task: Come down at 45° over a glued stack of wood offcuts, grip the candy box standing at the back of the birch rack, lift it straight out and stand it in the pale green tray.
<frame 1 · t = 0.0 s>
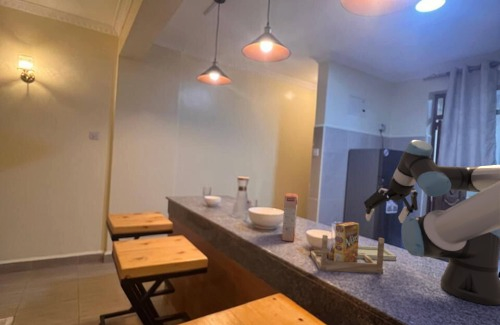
hand: (383, 219, 113), 15 cm above the counter, tool tilted 35°, fingers open, 13 cm apart
tray: (370, 254, 116), on the counter
rack: (345, 264, 103), on the counter
candy box: (345, 265, 103), resting in rack
cracker box: (288, 238, 134), on the counter
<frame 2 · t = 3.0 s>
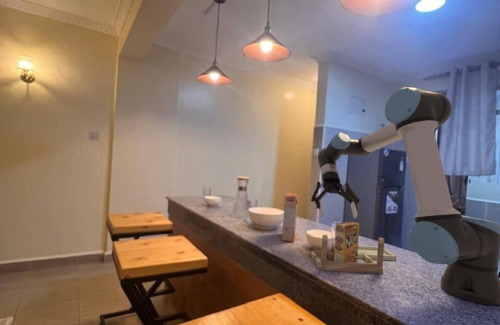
hand: (338, 215, 112), 16 cm above the counter, tool tilted 45°, fingers open, 13 cm apart
nothing on the counter moved.
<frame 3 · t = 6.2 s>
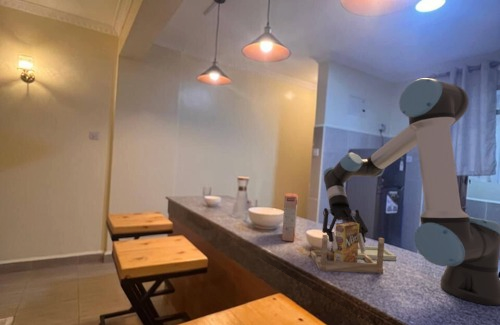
hand: (349, 250, 99), 6 cm above the counter, tool tilted 45°, fingers closed on candy box, 9 cm apart
candy box: (345, 265, 103), resting in rack, touching gripper
everything else where it was.
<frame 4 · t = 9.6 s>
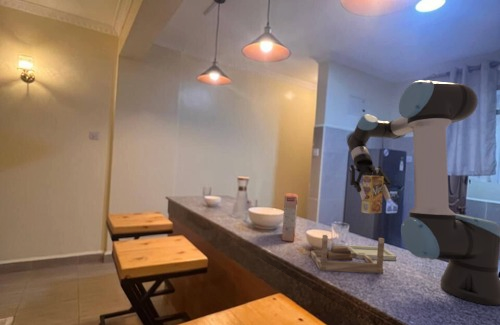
hand: (376, 198, 112), 24 cm above the counter, tool tilted 45°, fingers closed on candy box, 9 cm apart
candy box: (371, 213, 115), point 17 cm above the counter, touching gripper
everything else where it was.
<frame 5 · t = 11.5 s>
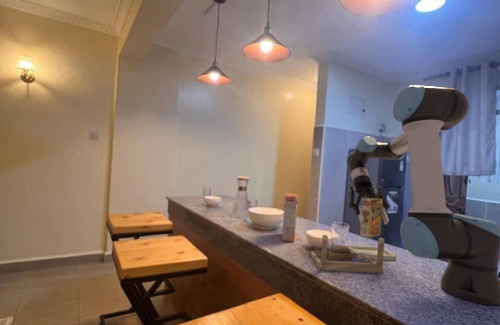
hand: (374, 222, 113), 14 cm above the counter, tool tilted 45°, fingers closed on candy box, 9 cm apart
candy box: (370, 235, 117), point 8 cm above the counter, touching gripper
everything else where it was.
when the fingers open (8 cm above the counter, at t = 13.2 s): candy box drops 1 cm, resting on tray.
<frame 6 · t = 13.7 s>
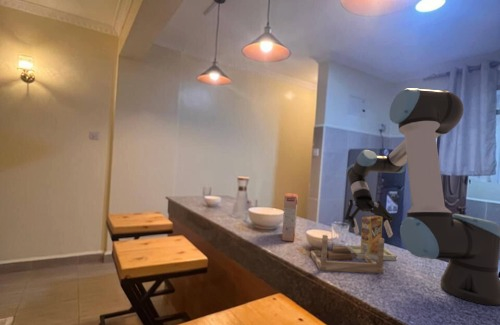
hand: (374, 234, 113), 9 cm above the counter, tool tilted 45°, fingers open, 13 cm apart
candy box: (370, 253, 116), resting on tray
everything else where it was.
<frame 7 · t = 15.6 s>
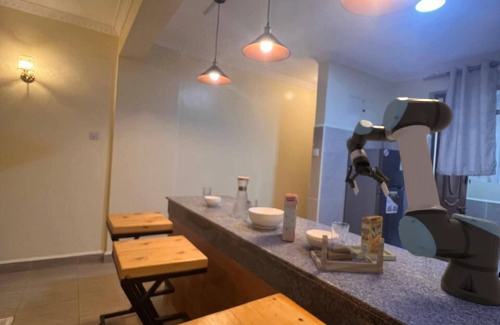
hand: (372, 194, 124), 24 cm above the counter, tool tilted 45°, fingers open, 13 cm apart
nothing on the counter moved.
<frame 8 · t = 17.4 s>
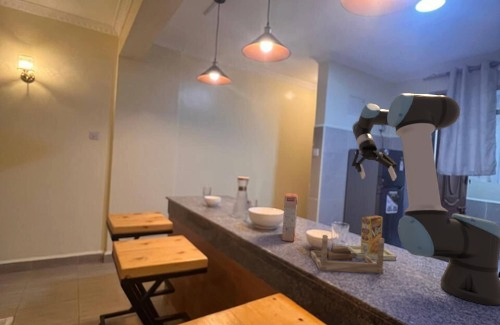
hand: (379, 178, 122), 32 cm above the counter, tool tilted 45°, fingers open, 13 cm apart
nothing on the counter moved.
at the end: candy box inside the target area on the tray (0.1 cm from its centre), point 0.3 cm above the tray's base; candy box tilted 0°; the gripper is holding nothing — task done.
